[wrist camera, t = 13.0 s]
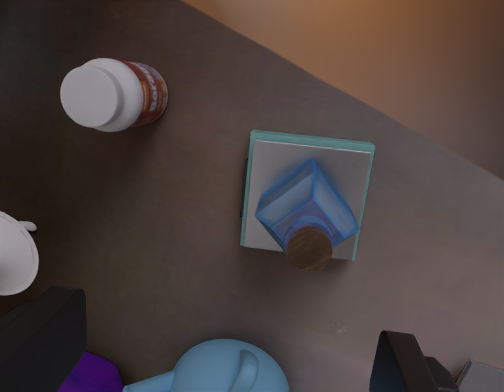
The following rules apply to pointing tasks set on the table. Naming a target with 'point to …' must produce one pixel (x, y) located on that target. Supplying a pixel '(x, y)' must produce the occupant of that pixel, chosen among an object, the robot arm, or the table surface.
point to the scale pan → (286, 161)
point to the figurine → (16, 255)
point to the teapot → (219, 371)
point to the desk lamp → (480, 378)
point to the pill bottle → (113, 94)
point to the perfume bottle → (306, 216)
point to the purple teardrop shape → (93, 376)
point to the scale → (307, 141)
